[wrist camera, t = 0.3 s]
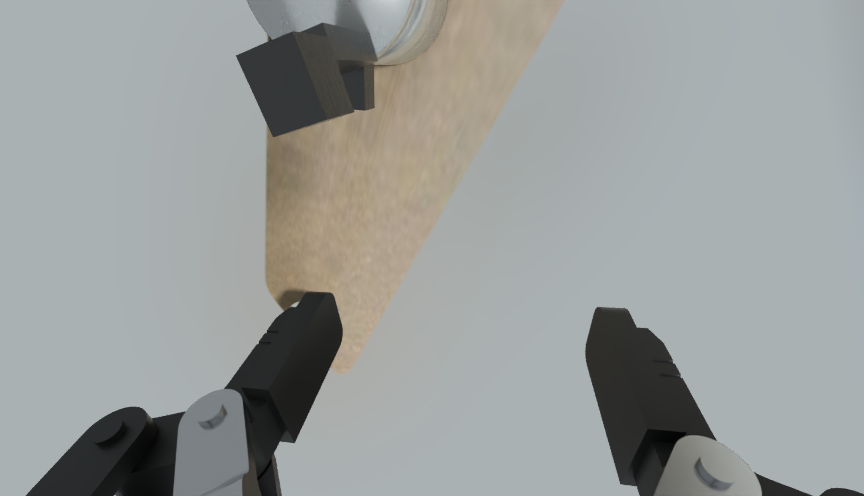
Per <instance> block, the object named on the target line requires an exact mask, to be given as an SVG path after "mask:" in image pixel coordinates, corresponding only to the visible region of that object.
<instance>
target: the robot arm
mask: <svg viewBox="0 0 864 496" xmlns="http://www.w3.org/2000/svg"><path fill="white" fill-rule="evenodd" d="M342 335H343V328H342V324H341V320H340V316H339V313H338V309H337V305H336V301H335V298H334V295H333V294H332V293H328V292H307V293H305V295H304V296H303V297H302V299H301V300H300V302H299V303H298V305H297V306H296V307H290V308H288V309H287V310H286V311H284V312H283V313H282V314H281V315H279V316H278V317H277V318H276V319H275V320H274V322H273V323H272V324H271V326H270V327H269V328H268V330H267V333H265V334H264V335H263V337H262V338H261V340H260V341H259V344H257V345H256V346H255V348H254V349H253V350H252V352H251V353H250V355H249V356H248V357H247V359H246V360H245V361H244V363H243V364H242V365H241V367H240V368H239V370H238V371H237V372H236V374H235V375H234V377H233V378H232V380H231V381H230V382H229V383H228V385H227V386H226V387H225V388H224V389H221V390H217V391H214V392H211V393H209V394H207V395H205V396H204V397H202V398H200V399H199V400H198V401H196V402H195V403H194V404H193V405H191V406H190V408H189V409H188V410H187V411H186V412H181V413H176V414H171V415H167V416H162V417H157V418H152V419H151V417H150V416H149V415H148V414H147V413H146V411H145V410H143V409H142V408H140V407H127V408H123V409H119V410H117V411H115V412H112V413H111V414H108V415H107V416H105V417H103V418H102V419H100V420H99V421H97V422H96V423H95V424H93V425H92V426H91V427H90V428H89V429H88V430H87V431H86V432H85V433H84V434H83V435H82V436H81V437H80V438H79V439H78V440H77V441H76V442H75V444H73V446H72V447H71V448H70V449H69V450H68V451H67V452H66V453H65V454H64V455H63V456H62V457H61V458H60V459H59V461H58V462H57V463H56V464H55V465H54V466H53V467H52V468H51V469H50V470H49V471H48V472H47V473H46V475H44V477H43V478H42V479H41V480H40V481H39V482H38V483H37V484H36V485H35V486H34V487H33V488H32V489H31V491H30V492H29V493H28V494H27V495H26V496H114V495H116V496H282V494H281V488H280V481H279V476H278V469H277V463H276V458H275V455H274V452H275V450H276V448H277V446H278V444H279V442H280V441H281V442H290V443H295V441H296V439H297V437H298V434H299V433H300V430H301V428H302V426H303V424H304V422H305V420H306V418H307V415H308V413H309V411H310V409H311V407H312V405H313V403H314V401H315V398H316V396H317V394H318V392H319V390H320V388H321V385H322V383H323V381H324V379H325V377H326V375H327V373H328V371H329V368H330V366H331V364H332V362H333V360H334V358H335V356H336V353H337V351H338V349H339V347H340V345H341V341H342ZM585 352H586V363H587V367H588V370H589V374H590V378H591V381H592V385H593V388H594V392H595V396H596V399H597V402H598V406H599V410H600V413H601V417H602V421H603V424H604V428H605V431H606V435H607V438H608V442H609V445H610V449H611V452H612V456H613V459H614V463H615V466H616V470H617V474H618V477H619V481H620V484H623V485H632V486H637V489H638V492H639V495H640V496H812V495H809V494H807V493H804V492H801V491H799V490H796V489H794V488H791V487H788V486H786V485H783V484H780V483H778V482H775V481H773V480H770V479H768V478H765V477H763V476H761V475H759V474H756V473H755V472H753V471H752V469H751V468H750V467H749V465H748V464H747V463H746V462H745V461H744V460H743V459H742V458H741V457H740V456H739V455H738V454H737V453H735V452H734V451H733V450H731V449H730V448H728V447H727V446H725V445H724V444H722V443H720V442H717V440H716V438H715V437H714V435H713V433H712V432H711V430H710V428H709V426H708V424H707V422H706V421H705V419H704V417H703V415H702V413H701V411H700V409H699V408H698V406H697V404H696V402H695V400H694V398H693V397H692V395H691V393H690V391H689V389H688V388H687V385H686V384H685V382H684V380H683V378H681V377H680V373H679V371H678V369H677V367H676V365H675V364H673V360H672V358H671V356H670V354H669V352H668V350H667V349H666V347H665V345H664V343H663V342H662V341H661V340H660V339H658V338H657V337H656V336H655V335H654V334H653V333H652V332H651V331H650V330H649V329H648V328H637V327H636V325H635V323H634V321H633V319H632V317H631V315H630V313H629V311H628V310H627V309H625V308H606V307H597V308H596V309H595V312H594V316H593V319H592V323H591V327H590V331H589V335H588V339H587V342H586V351H585ZM820 496H864V494H862V493H859V492H856V491H853V490H849V489H843V488H831V489H828V490H826V491H825V492H824V493H822V494H821V495H820Z"/></svg>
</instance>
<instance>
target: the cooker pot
mask: <svg viewBox="0 0 864 496" xmlns="http://www.w3.org/2000/svg"><path fill="white" fill-rule="evenodd" d="M447 5H448V0H416V3H415V6H414V9H413V12H412V15H411V17H410V19H409V21H408V23H407V25H406V27H405V29H404V31H403V32H402V34H401V35H400V37H399V38H398V40H397V41H396V42H395V43H394V44H393V45H392V47H391V48H390V49H389V50H387V51H386V52H385V53H384V54H383V55H382V56H380V57H379V58H377V59H378V62H375V63H372V64H369V65H367V66H364V67H361V68H358V69H356V70H353V71H350V72H348V73H345V74H342V75H341V76H342V79H343V81H344V84H345V87H346V90H347V93H348V95H349V98H350V101H351V104H352V107H353V109H354V110H369V109H372V108H374V65H398V64H403V63H406V62H409V61H411V60H413V59H415V58H417V57H418V56H420V55H421V54H422V53H424V52H425V51H426V50H427V49H428V48H429V47H430V45H431V44H432V43H433V42H434V40H435V38H436V37H437V35H438V33H439V31H440V29H441V27H442V25H443V22H444V19H445V15H446V11H447Z"/></svg>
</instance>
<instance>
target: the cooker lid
mask: <svg viewBox="0 0 864 496" xmlns="http://www.w3.org/2000/svg"><path fill="white" fill-rule="evenodd" d="M247 2H248V4H249V6H250V8H251V10H252V12H253V14H254V15H255V17H256V19H257V20H258V22H259V23H260V25H261V26H262V27H263V29H264V30H265V32H266V33H267V34H268V35H269V36H270V37H271V38H272V40H271V41H269V42H266V43H264V44H262V45H259V46H257V47H255V48H252V49H250V50H248V51H246V52H243V53H241V54H239V55H236V57H237V59H238V61H239V63H240V66H241V68H242V70H243V72H244V74H245V77H246V79H247V81H248V83H249V85H250V87H251V90H252V92H253V94H254V96H255V99H256V101H257V103H258V105H259V107H260V109H261V112H262V114H263V116H264V118H265V120H266V123H267V125H268V127H269V129H270V131H271V134H272V136H273V137H276V136H279V135H283V134H286V133H290V132H293V131H296V130H300V129H303V128H307V127H310V126H313V125H316V124H319V123H322V122H325V121H328V120H331V119H335V118H338V117H341V116H344V115H347V114H350V113H353V112H354V110H353V107H352V104H351V101H350V98H349V95H348V93H347V90H346V87H345V84H344V81H343V79H342V76H341V75H342V74H345V73H348V72H350V71H353V70H356V69H358V68H361V67H364V66H367V65H369V64H372V63H375V62H378V59H377V58H379V57H380V56H382V55H383V54H384V53H385V52H386V51H387V50H389V49H390V48H391V47H392V45H393V44H394V43H395V42H396V41H397V40H398V38H399V37H400V35H401V34H402V32H403V31H404V29H405V27H406V25H407V23H408V21H409V19H410V17H411V15H412V12H413V9H414V6H415V3H416V0H247Z"/></svg>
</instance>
